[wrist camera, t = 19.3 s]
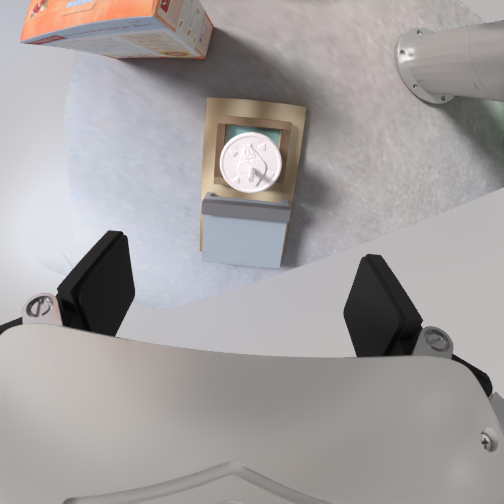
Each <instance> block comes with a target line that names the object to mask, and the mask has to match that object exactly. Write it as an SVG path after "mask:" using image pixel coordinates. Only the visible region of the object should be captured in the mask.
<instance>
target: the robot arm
mask: <svg viewBox="0 0 504 504" xmlns="http://www.w3.org/2000/svg"><path fill="white" fill-rule="evenodd" d="M400 52H401V53H400ZM395 60H396V64H397V68H398V71H399V74H400V76H401V78H402V80H403V81H404V83H405V84H406V86H407V87H408V88H409V89H410V90H411V91H412V92H413V94H415V95H416V96H417V97H419V98H420V99H422V100H424V101H426V102H429V103H435V104H443V103H446V102H449V101H450V100H452V99H453V98H454V97H455V96H464V97H472V98H477V99H486V100H493V101H499V102H504V20H502V21H496V22H490V23H483V24H477V25H471V26H465V27H460V28H455V29H450V30H446V31H442V32H438V33H435V32H433V31H431V30H428V29H424V28H415V29H411V30H409V31H407V32H405V33H404V34H403V35H401V37H400V38H399V40H398V42H397V45H396V50H395ZM413 86H414V88H413ZM57 290H58V294H57V295H56V296H54V295H53V294H49V293H42V294H37V295H35V296H33V297H31V298H30V299H29V300H28V301H27V302H26V303H25V304H24V306H23V310H22V317H21V318H18V319H16V320H13V321H11V322H8V323H5V324H3V325H1V326H0V504H504V399H503V398H502V397H501V396H500V395H499V394H498V393H497V392H495V393H494V394H492V384H491V381H490V379H489V377H488V375H487V374H486V373H484V372H482V371H481V370H479V369H477V368H476V367H474V366H472V365H471V364H469V363H467V362H466V361H464V360H462V359H460V358H459V357H457V356H456V355H454V354H452V353H453V342H452V340H451V339H450V337H449V336H448V335H447V334H446V333H445V332H444V331H443V330H441V329H439V328H436V327H432V326H429V327H425V328H424V329H423V328H422V326H421V323H422V321H423V319H422V318H421V316H420V314H419V313H418V311H417V309H416V308H415V306H414V304H413V303H412V301H411V300H410V298H409V296H408V295H407V293H406V292H405V290H404V289H403V287H402V286H401V284H400V283H399V281H398V279H397V278H396V276H395V275H394V274H393V272H392V271H391V269H390V268H389V266H388V265H387V263H386V262H385V260H384V259H383V257H382V256H381V255H374V254H367V255H366V256H365V257H362V259H361V261H360V264H359V267H358V270H357V273H356V276H355V280H354V282H353V285H352V288H351V291H350V294H349V297H348V299H347V302H346V305H345V308H344V313H343V314H344V319H345V322H346V325H347V328H348V331H349V334H350V337H351V340H352V343H353V346H354V349H355V352H356V355H357V357H344V358H317V357H315V358H314V357H280V356H262V355H246V354H234V353H223V352H213V351H204V350H195V349H187V348H180V347H172V346H166V345H159V344H152V343H145V342H140V341H134V340H129V339H124V338H119V337H115V335H116V333H117V331H118V329H119V327H120V325H121V323H122V321H123V319H124V317H125V315H126V313H127V311H128V309H129V307H130V305H131V303H132V301H133V299H134V297H135V287H134V281H133V275H132V268H131V261H130V254H129V246H128V238H127V236H126V235H124V234H123V232H122V231H110V230H109V231H108V232H107V233H106V234H105V235H104V236H103V237H102V238H101V239H100V240H99V241H98V242H97V243H96V244H95V245H94V246H93V247H92V249H91V250H90V251H89V252H88V253H87V254H86V255H85V256H84V257H83V258H82V260H81V261H80V262H79V263H78V264H77V265H76V266H75V268H74V269H73V270H72V271H71V272H70V273H69V275H68V276H67V277H66V278H65V279H64V280H63V282H62V283H61V284H60V285H59V287H58V288H57Z"/></svg>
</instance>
